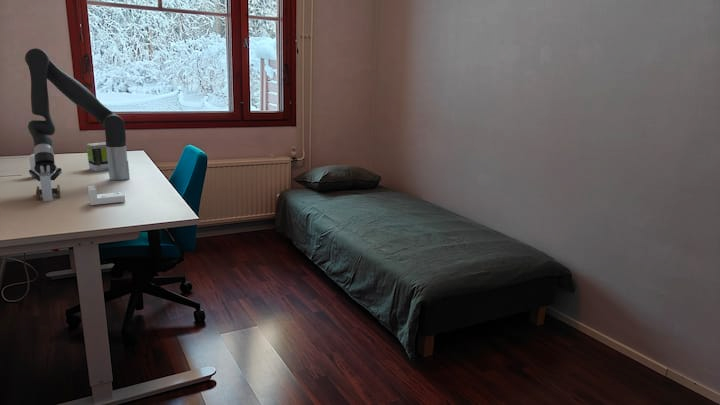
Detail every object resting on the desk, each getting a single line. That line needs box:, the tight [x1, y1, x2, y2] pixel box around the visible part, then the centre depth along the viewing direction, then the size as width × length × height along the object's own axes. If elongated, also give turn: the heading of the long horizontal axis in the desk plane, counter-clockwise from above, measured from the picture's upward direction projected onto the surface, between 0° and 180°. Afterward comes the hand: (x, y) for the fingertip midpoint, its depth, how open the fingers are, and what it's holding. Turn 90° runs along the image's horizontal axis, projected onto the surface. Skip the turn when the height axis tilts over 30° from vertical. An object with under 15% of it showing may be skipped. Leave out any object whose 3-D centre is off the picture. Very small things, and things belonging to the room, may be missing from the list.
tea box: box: [85, 141, 109, 172], centre depth 276 cm, size 15×10×15 cm, turn 135°
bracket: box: [87, 185, 126, 206], centre depth 207 cm, size 13×7×8 cm, turn 123°
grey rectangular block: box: [39, 171, 54, 202], centre depth 210 cm, size 4×10×11 cm, turn 31°
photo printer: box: [29, 153, 55, 178], centre depth 253 cm, size 10×4×12 cm, turn 123°
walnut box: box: [35, 184, 61, 201], centre depth 216 cm, size 9×14×4 cm, turn 31°
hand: (47, 187), depth 215 cm, fingers closed
